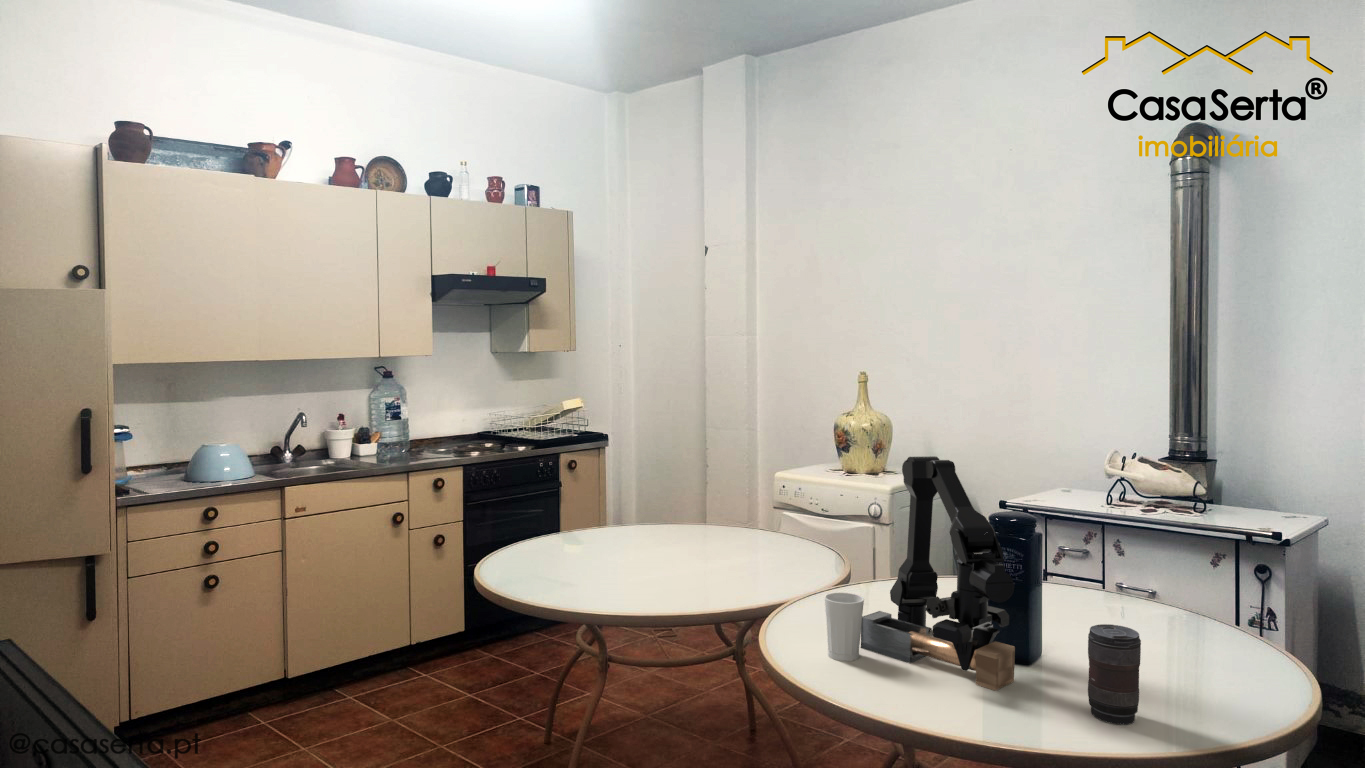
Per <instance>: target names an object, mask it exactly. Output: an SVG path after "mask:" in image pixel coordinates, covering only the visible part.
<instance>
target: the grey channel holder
mask: <svg viewBox="0 0 1365 768" xmlns="http://www.w3.org/2000/svg"><path fill="white" fill-rule="evenodd" d="M927 627H928V626H926V627H923V626H920V625H916V624H912V623H909V622H905V621H901V620H898V618H893V617H892V613H889V612H885V611H883V610H878V611H875V612H873V613H872V612H871V613H869V614H866V615H862V624H861V635H860V648H861V649H863V650H867V651H868V652H869V651H870V652H873V653H876V654H878V655H882V656H886V657H888V658H892V659H895V660H898V661H901V662H904V663H908V664H911V663H914V662H916V661H919V660H921V659H924V658H926V657H927V656H924V655H921V654H918V653H914V652H912V639H913V634H911V633H909V632H910V631H914V632H917V633H921V634H924V635H928V636H929V632H930V631H929V628H927ZM928 631H929V632H928Z"/></svg>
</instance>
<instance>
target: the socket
mask: <svg viewBox="0 0 1365 768" xmlns="http://www.w3.org/2000/svg"><path fill="white" fill-rule="evenodd" d="M1015 656H1016V647H1015V646H1014V645H1012V644H1011V645H1010V644H1006V643H1004V642H1000V641H996V640H995V641H993V642H992V643H990V644H988V645H985V646H983V647H981V648H978V649H976V671H975V685H976V686H979V687H981V688H982V687H983V688H986V689H989V690H993V691H998V690H1000V689H1002V688H1004V687H1006V686H1008V685H1010V684H1012V683H1013V682H1015V660H1016V659H1015V658H1016V657H1015Z"/></svg>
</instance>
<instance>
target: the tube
mask: <svg viewBox="0 0 1365 768" xmlns="http://www.w3.org/2000/svg"><path fill="white" fill-rule="evenodd" d="M909 633H911V634H913V639H912V652H914V653H918V654H921V655H924V656H926V657H928V658H931V659H934V660H937V661H941V662H944V663H948V664H950V665H954V666H957V667H961V666H960V662H959V659H958V656H957V653H956V650H955V647H954V645H953V643H952V642H949V641H945V640H942V639H938V638H935V637H933V636H931V635H929V634H928V635H924V634H921V633H917V632H914V631H910V632H909ZM968 670H971V671H975V672H976V649H975V651H974V654H973V657H972V660H971V663H970V666H969V669H968Z"/></svg>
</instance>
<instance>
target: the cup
mask: <svg viewBox="0 0 1365 768" xmlns="http://www.w3.org/2000/svg"><path fill="white" fill-rule="evenodd" d="M864 598H865V597H863V596H861V595H859V594H856V593H852V592H830V593H827V594H825V595H824V606H825V607H824V608H825V610H824V611H825V618H826V636H827V657H829V658H830V659H832V660H835V661H840V662H852V661H856V660H858V659H859V658H860V646H861V624H862V616H863V613H864V604H865V603H864V602H865V599H864Z"/></svg>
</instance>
